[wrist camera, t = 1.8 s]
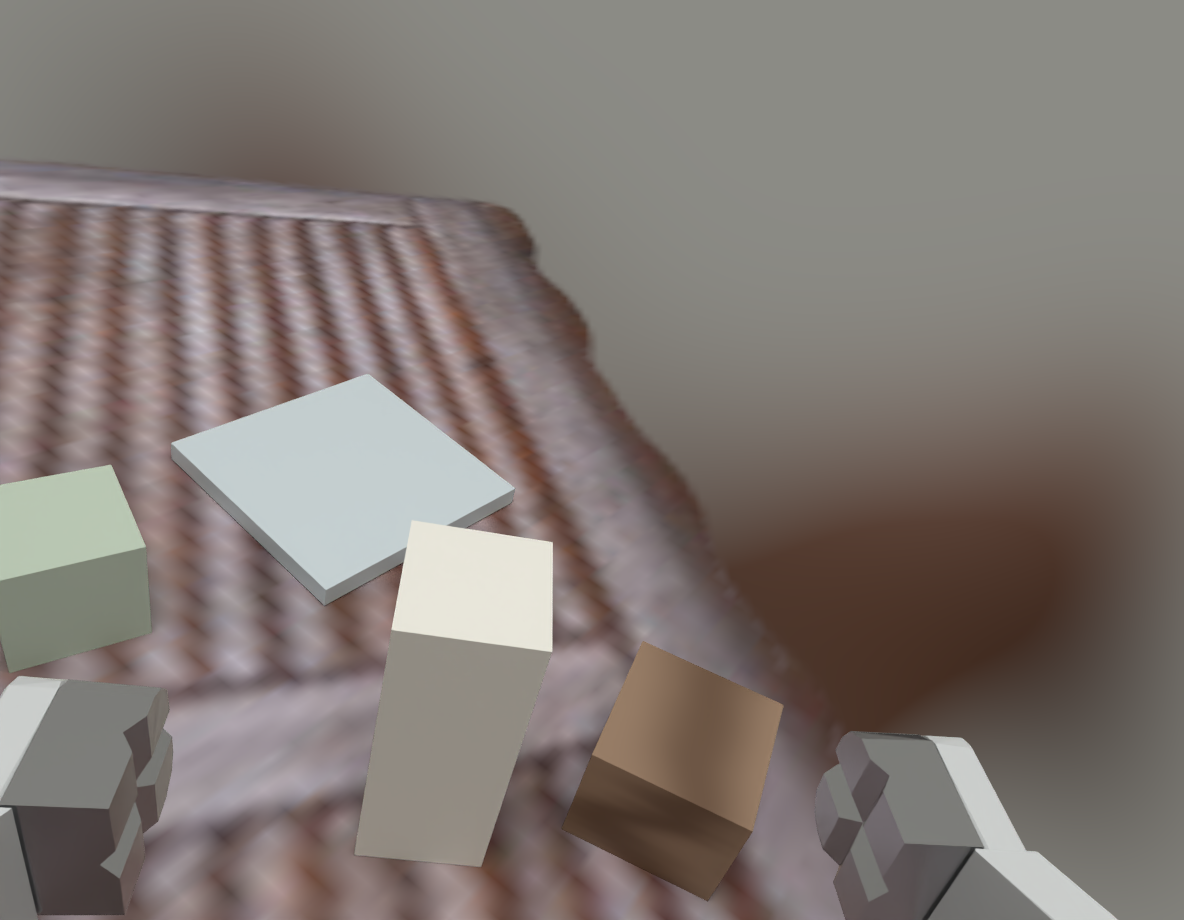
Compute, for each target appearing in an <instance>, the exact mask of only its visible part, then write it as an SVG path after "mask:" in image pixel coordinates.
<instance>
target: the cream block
mask: <svg viewBox="0 0 1184 920" xmlns="http://www.w3.org/2000/svg"><path fill="white" fill-rule="evenodd" d="M552 579H553V542H547V541H541V540H534V539H528V538H522V537H515V536H509V535H503V534H496V533H490V532H484V531H477V530H471V529H465V528H458V527H452V526H446V525H439V524H433V523H427V522H420V521H414V520H412V521H411V527H410V532H409V538H408V543H407V549H406V554H405V559H404V565H403V570H402V576H401V581H400V587H399V592H398V598H397V603H396V609H395V614H394V619H393V625H392V630H391V636H390V642H389V648H388V654H387V660H386V666H385V672H384V678H383V684H382V690H381V696H380V702H379V708H378V714H377V720H376V726H375V732H374V738H373V744H372V750H371V756H370V762H369V768H368V774H367V780H366V786H365V792H364V798H363V804H362V810H361V816H360V822H359V828H358V834H357V840H356V846H355V852H354V855H359V856H369V857H380V858H390V859H401V860H411V861H422V862H432V863H443V864H454V865H464V866H475V867H481V865H482V862H483V859H484V856H485V853H486V850H487V847H488V844H489V841H490V838H491V835H492V832H493V829H494V826H495V823H496V820H497V817H498V814H499V811H500V808H501V805H502V802H503V799H504V796H505V793H506V790H507V787H508V784H509V781H510V778H511V775H512V772H513V769H514V766H515V763H516V760H517V757H518V754H519V751H520V748H521V745H522V742H523V739H524V736H525V733H526V730H527V727H528V724H529V721H530V718H531V715H532V712H533V709H534V706H535V702H536V699H537V696H538V693H539V690H540V687H541V684H542V681H543V678H544V675H545V672H546V669H547V666H548V663H549V660H550V657H551V654H552Z"/></svg>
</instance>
